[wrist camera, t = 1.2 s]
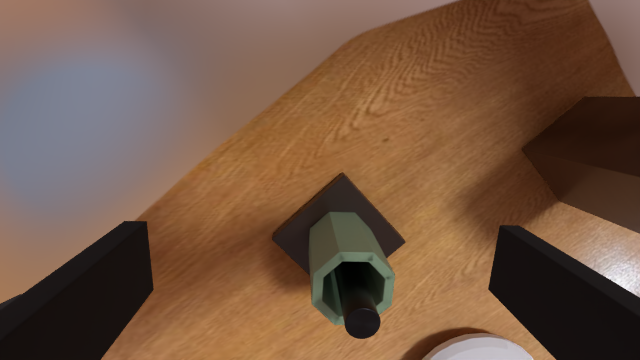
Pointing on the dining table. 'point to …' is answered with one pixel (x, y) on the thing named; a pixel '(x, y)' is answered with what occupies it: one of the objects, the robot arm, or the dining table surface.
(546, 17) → the dining table surface
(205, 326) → the dining table surface
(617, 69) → the dining table surface
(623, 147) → the stand
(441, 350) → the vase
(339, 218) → the green octagonal tube
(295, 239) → the peg stand
